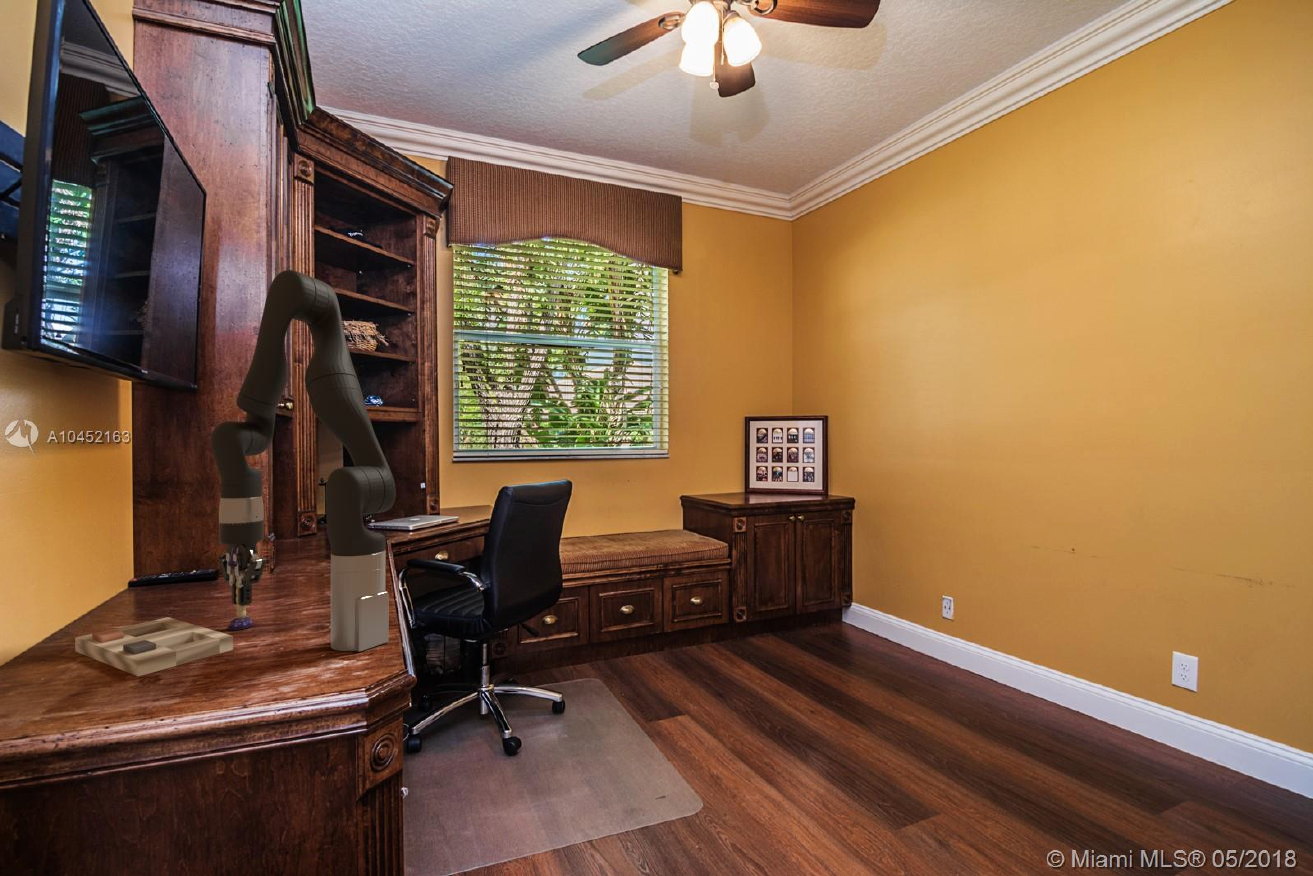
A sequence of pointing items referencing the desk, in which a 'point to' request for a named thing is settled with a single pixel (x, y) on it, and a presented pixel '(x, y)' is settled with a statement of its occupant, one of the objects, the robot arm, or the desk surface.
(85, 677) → the desk surface
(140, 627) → the socket board
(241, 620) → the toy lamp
